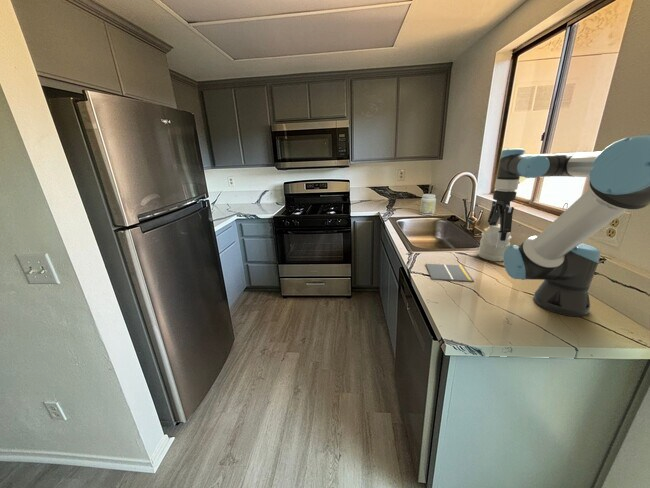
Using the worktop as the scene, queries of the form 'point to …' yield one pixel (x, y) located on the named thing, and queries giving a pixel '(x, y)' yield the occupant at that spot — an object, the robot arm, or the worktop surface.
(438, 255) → the worktop surface
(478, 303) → the worktop surface
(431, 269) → the mat
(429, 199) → the supplement tub
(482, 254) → the jar
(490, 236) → the die
